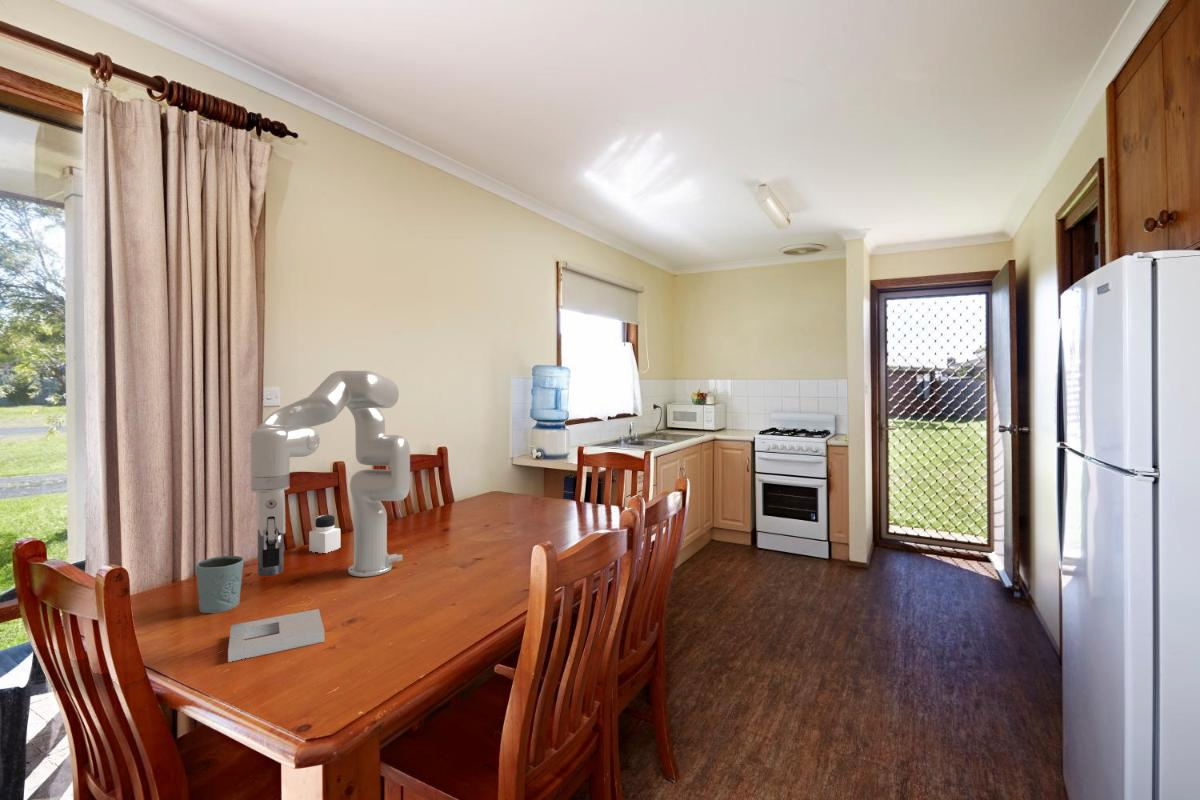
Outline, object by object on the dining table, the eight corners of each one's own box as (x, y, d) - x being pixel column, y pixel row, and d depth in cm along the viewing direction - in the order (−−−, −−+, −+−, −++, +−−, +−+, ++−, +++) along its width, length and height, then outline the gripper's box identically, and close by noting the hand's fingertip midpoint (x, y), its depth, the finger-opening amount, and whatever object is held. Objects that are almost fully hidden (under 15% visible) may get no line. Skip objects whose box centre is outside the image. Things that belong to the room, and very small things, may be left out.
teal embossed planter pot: (193, 606, 142) (193, 560, 141) (239, 596, 149) (238, 552, 148) (200, 618, 134) (200, 570, 134) (248, 607, 142) (247, 561, 141)
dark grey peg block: (282, 567, 127) (282, 525, 127) (284, 573, 123) (283, 529, 122) (257, 571, 124) (257, 527, 124) (257, 577, 120) (257, 532, 120)
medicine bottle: (341, 548, 193) (340, 514, 192) (324, 554, 186) (324, 519, 185) (325, 546, 195) (325, 513, 195) (308, 552, 188) (308, 517, 188)
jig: (318, 618, 135) (318, 608, 135) (324, 641, 123) (324, 630, 123) (231, 635, 125) (231, 625, 125) (228, 662, 114) (228, 650, 113)
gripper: (291, 487, 118) (291, 570, 118) (287, 476, 132) (287, 550, 133) (250, 490, 114) (250, 576, 114) (250, 478, 128) (250, 555, 128)
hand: (270, 561), depth 123 cm, fingers closed on dark grey peg block, 5 cm apart
